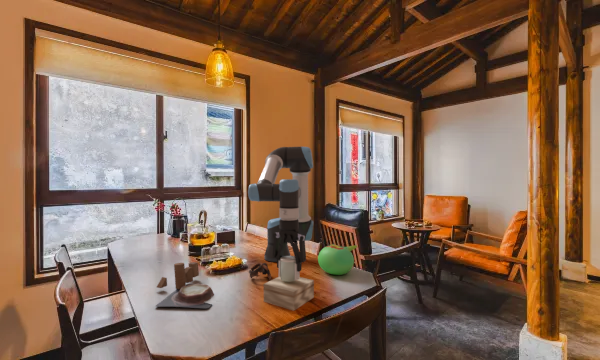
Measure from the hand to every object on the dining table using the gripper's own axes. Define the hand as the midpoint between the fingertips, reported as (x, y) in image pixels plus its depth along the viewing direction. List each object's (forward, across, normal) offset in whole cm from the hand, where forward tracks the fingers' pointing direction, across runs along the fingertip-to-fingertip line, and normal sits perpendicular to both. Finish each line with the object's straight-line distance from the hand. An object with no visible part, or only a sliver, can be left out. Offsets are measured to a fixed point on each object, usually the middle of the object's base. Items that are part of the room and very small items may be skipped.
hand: (288, 277), depth 112 cm
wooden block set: (+8, -48, -11) cm, 50 cm away
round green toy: (+8, +5, +37) cm, 39 cm away
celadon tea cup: (0, 0, 0) cm, 0 cm away
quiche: (+9, -35, -16) cm, 39 cm away
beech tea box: (+9, 0, 0) cm, 9 cm away
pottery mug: (+9, -22, +15) cm, 28 cm away
